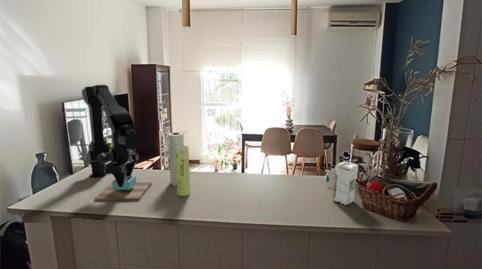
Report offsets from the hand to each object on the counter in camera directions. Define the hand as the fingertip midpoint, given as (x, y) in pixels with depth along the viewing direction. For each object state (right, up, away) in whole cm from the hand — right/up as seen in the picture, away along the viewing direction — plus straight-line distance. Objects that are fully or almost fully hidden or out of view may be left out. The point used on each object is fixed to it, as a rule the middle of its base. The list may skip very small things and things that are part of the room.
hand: (124, 183), depth 114 cm
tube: (+23, -4, 0) cm, 23 cm away
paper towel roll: (+18, -2, +11) cm, 21 cm away
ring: (0, -1, 0) cm, 1 cm away
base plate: (0, -3, +1) cm, 4 cm away
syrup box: (+83, -6, -6) cm, 83 cm away
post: (0, -2, +1) cm, 2 cm away
